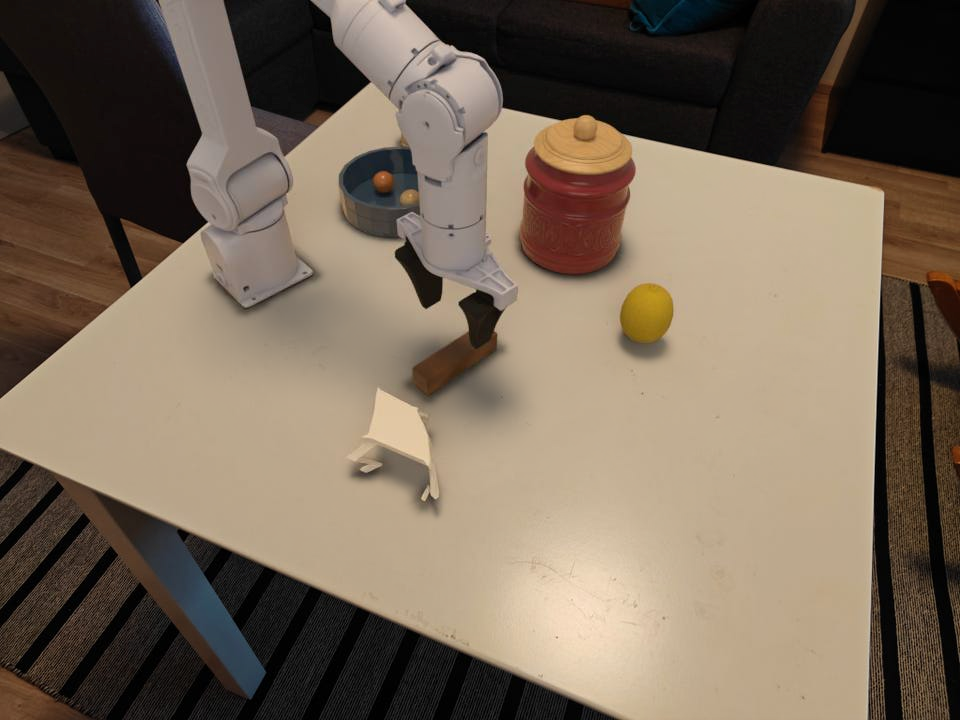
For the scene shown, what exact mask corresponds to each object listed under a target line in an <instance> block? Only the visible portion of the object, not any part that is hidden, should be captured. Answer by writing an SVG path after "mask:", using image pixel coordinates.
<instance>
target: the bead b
mask: <svg viewBox="0 0 960 720" xmlns="http://www.w3.org/2000/svg"><path fill="white" fill-rule="evenodd" d="M416 203H419V193H418V192H417V191H415V190H412V189H409V190H406V191H404V192H403V193H402V194H401V196H400V205H401V206H408V205H412V204H416Z"/></svg>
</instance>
